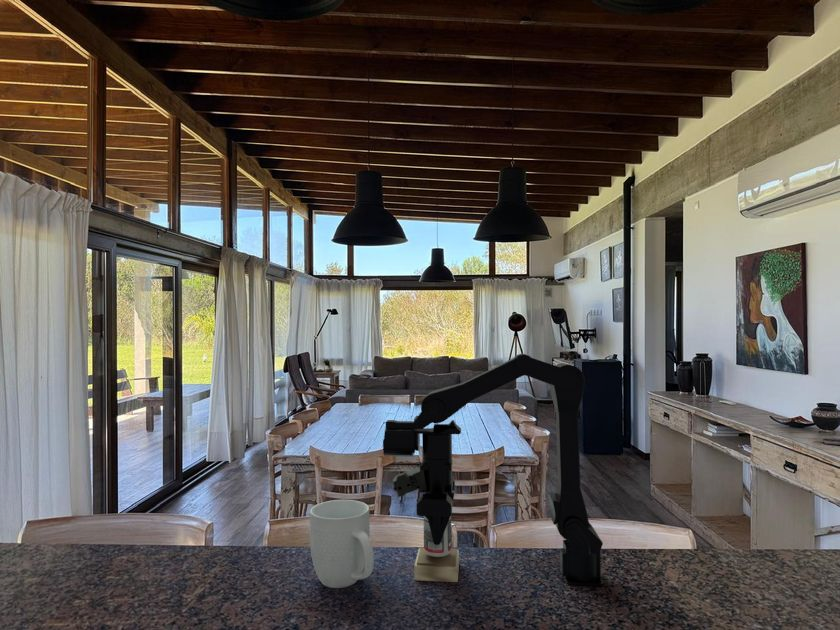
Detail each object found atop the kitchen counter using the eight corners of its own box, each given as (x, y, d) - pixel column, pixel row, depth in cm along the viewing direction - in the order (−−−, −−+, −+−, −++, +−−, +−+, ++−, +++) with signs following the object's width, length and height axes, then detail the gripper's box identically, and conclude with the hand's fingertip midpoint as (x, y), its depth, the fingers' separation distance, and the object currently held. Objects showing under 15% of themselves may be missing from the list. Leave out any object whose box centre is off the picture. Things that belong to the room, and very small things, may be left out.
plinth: (458, 563, 102) (458, 547, 102) (457, 582, 94) (457, 565, 94) (418, 561, 102) (418, 546, 103) (414, 580, 95) (414, 563, 95)
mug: (395, 587, 92) (395, 513, 92) (344, 610, 84) (345, 529, 85) (346, 561, 102) (346, 495, 103) (297, 579, 95) (298, 508, 95)
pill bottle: (439, 543, 102) (438, 494, 102) (457, 552, 98) (457, 500, 98) (418, 551, 99) (417, 499, 99) (436, 560, 94) (435, 506, 95)
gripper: (402, 445, 109) (402, 520, 108) (388, 467, 91) (388, 557, 90) (454, 446, 108) (455, 521, 107) (451, 469, 89) (451, 560, 89)
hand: (437, 538), depth 98 cm, fingers closed on pill bottle, 5 cm apart
